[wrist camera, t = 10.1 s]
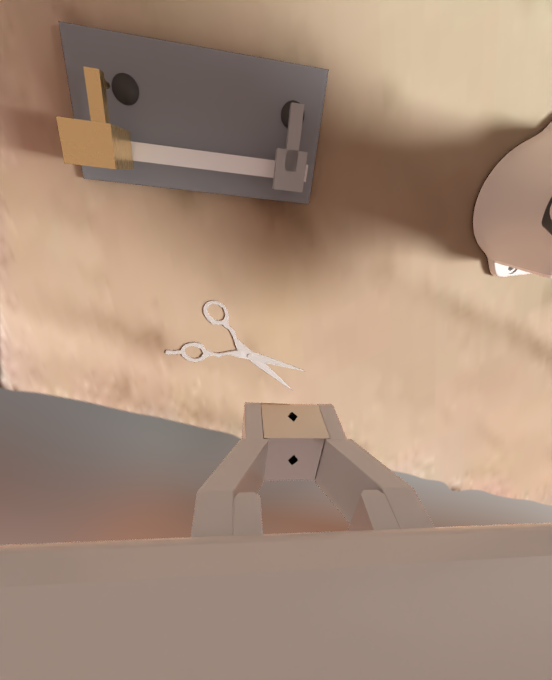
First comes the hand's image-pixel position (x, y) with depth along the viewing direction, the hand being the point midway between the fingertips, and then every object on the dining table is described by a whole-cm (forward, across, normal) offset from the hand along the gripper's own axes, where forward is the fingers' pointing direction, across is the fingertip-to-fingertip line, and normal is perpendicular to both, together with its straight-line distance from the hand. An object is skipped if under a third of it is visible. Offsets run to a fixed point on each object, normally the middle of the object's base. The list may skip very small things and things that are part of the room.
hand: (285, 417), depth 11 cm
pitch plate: (+31, +6, -11) cm, 33 cm away
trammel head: (+29, +14, -10) cm, 34 cm away
